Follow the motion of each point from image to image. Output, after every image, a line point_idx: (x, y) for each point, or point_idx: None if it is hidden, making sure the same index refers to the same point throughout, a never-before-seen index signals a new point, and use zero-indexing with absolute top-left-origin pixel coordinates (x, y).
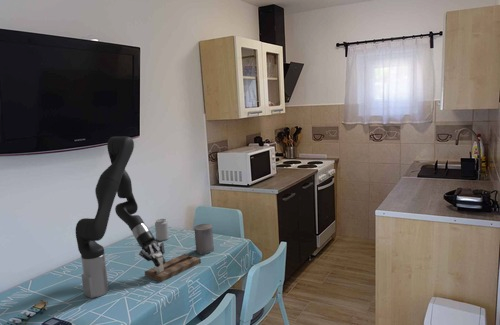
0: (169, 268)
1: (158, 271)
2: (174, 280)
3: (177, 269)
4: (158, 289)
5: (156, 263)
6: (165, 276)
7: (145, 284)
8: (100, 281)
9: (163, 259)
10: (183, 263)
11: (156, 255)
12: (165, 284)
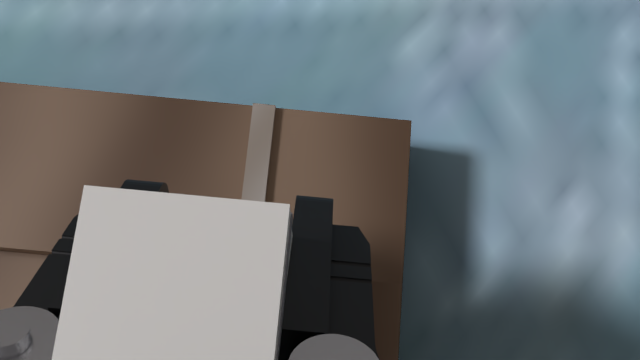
0: None
1: None
2: (268, 15)
3: (43, 89)
4: (566, 22)
5: (361, 251)
6: (313, 119)
7: (574, 303)
8: None
9: None
10: None
11: (267, 313)
12: (418, 40)
